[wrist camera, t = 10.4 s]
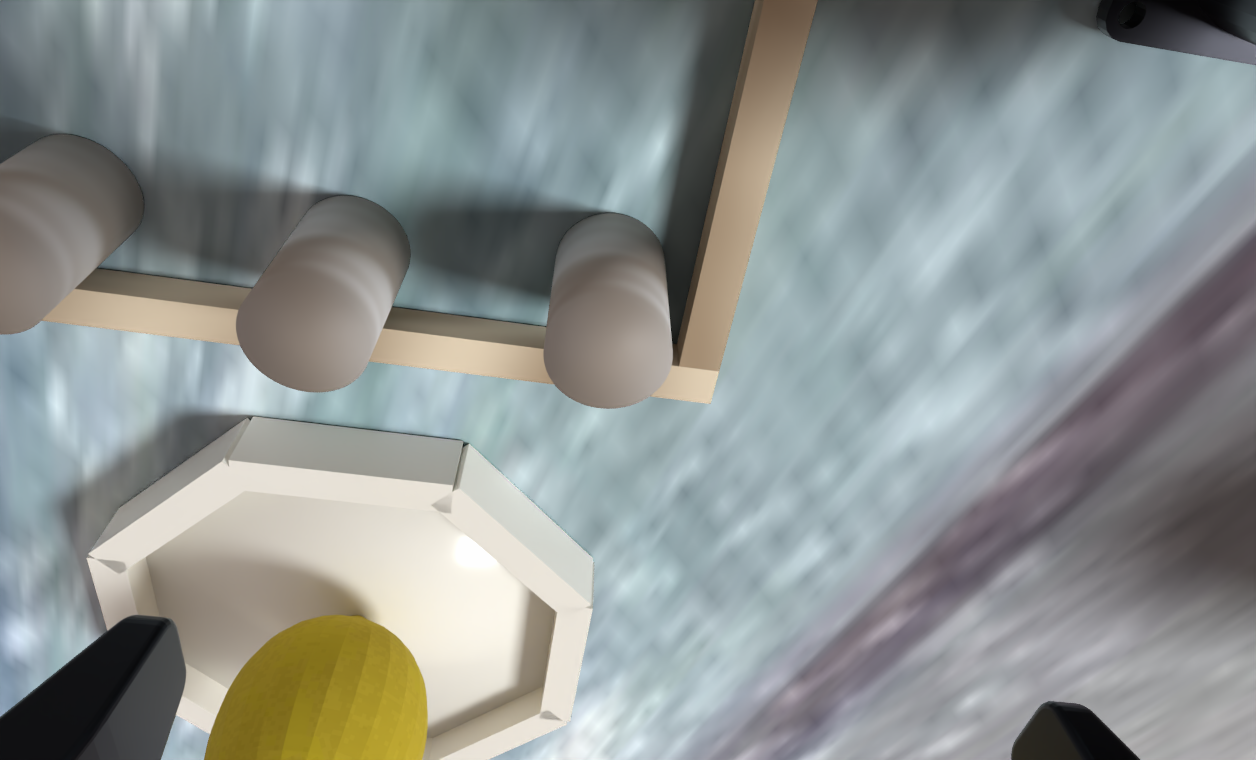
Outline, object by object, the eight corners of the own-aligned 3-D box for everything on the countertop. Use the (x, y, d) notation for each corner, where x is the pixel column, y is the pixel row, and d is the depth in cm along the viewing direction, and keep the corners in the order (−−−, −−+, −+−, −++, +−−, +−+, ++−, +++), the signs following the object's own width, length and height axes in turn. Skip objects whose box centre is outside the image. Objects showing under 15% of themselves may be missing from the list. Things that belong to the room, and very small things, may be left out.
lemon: (482, 644, 28) (437, 917, 21) (341, 691, 29) (258, 961, 22) (378, 533, 25) (289, 810, 18) (227, 592, 26) (94, 868, 20)
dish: (614, 458, 24) (614, 503, 23) (558, 743, 32) (555, 790, 31) (89, 397, 23) (52, 440, 21) (166, 710, 31) (144, 757, 29)
